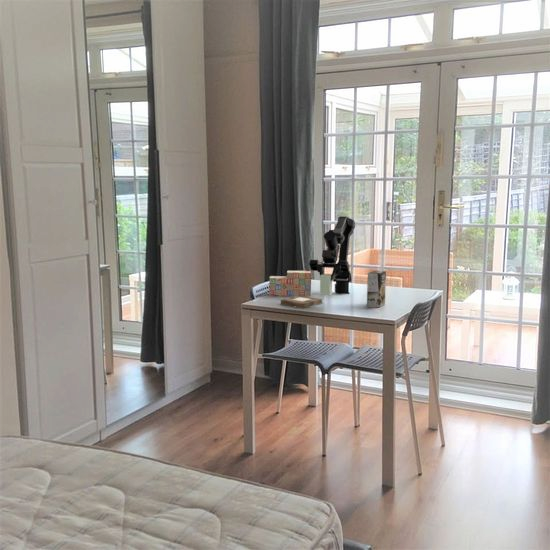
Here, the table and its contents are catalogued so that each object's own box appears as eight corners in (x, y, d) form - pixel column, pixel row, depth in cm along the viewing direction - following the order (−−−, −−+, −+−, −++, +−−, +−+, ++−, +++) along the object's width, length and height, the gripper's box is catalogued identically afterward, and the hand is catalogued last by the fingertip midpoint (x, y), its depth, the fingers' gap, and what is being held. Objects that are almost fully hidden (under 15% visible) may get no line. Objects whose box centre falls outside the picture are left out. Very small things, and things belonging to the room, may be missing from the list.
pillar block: (322, 292, 290) (322, 274, 288) (331, 293, 288) (332, 274, 287) (320, 294, 286) (320, 275, 284) (329, 295, 284) (329, 276, 283)
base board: (299, 299, 304) (299, 295, 303) (321, 303, 295) (321, 298, 294) (280, 304, 293) (280, 299, 293) (303, 308, 284) (303, 303, 284)
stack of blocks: (269, 296, 313) (268, 272, 311) (269, 293, 319) (269, 270, 317) (311, 296, 312) (311, 272, 310) (311, 293, 318) (311, 270, 316)
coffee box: (379, 308, 284) (380, 273, 281) (366, 306, 287) (367, 272, 284) (385, 304, 292) (386, 270, 289) (372, 303, 295) (373, 269, 292)
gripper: (310, 242, 291) (303, 269, 282) (348, 243, 285) (342, 271, 276) (314, 256, 299) (308, 282, 291) (352, 258, 293) (346, 285, 285)
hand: (325, 280), depth 286 cm, fingers closed on pillar block, 4 cm apart
